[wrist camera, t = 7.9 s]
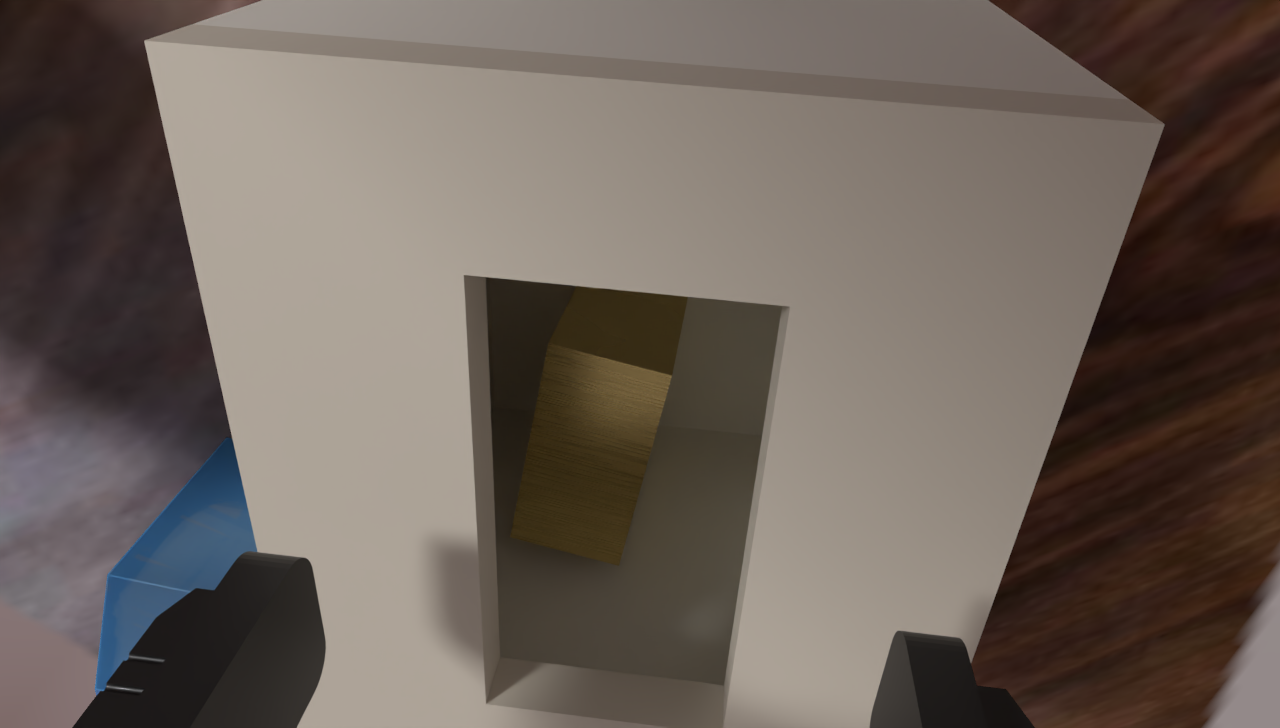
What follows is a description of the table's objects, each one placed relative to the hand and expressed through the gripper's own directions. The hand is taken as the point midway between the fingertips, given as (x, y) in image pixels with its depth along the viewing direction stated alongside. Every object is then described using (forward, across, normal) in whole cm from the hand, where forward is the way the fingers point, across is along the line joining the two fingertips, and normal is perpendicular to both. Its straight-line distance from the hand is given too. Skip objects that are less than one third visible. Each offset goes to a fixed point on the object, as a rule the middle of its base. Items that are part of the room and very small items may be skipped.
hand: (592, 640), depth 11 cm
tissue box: (+14, 0, 0) cm, 14 cm away
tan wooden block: (+10, +1, 0) cm, 10 cm away
